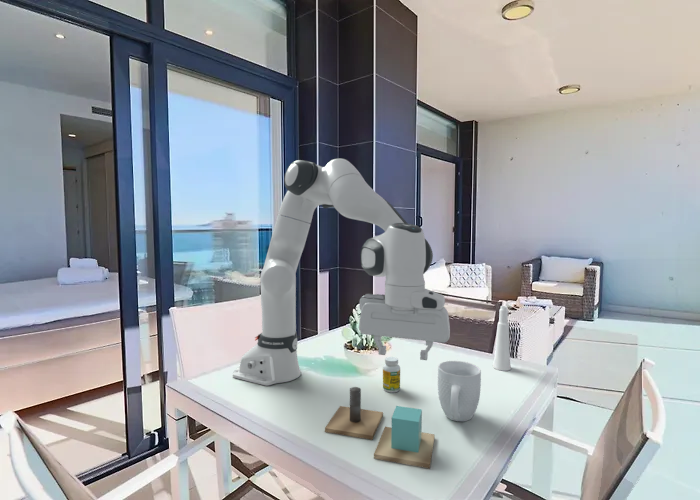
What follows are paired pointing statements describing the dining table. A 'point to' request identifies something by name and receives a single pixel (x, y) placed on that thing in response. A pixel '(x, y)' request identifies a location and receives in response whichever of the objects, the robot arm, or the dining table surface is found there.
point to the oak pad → (405, 456)
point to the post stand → (355, 419)
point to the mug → (459, 389)
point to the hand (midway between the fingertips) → (402, 356)
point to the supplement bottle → (391, 375)
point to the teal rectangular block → (406, 429)
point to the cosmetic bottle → (502, 342)
